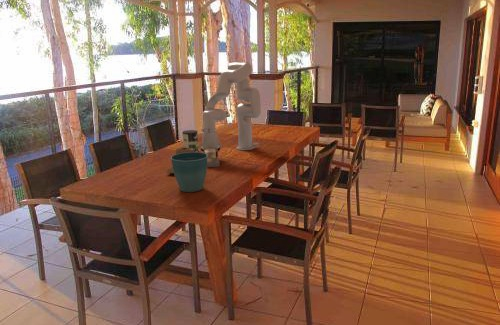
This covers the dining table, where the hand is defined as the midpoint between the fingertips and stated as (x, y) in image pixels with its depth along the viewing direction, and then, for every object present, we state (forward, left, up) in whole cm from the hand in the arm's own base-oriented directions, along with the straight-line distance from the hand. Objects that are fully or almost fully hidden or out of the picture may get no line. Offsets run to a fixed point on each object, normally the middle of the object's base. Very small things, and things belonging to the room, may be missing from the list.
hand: (210, 158), depth 280 cm
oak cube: (+1, +14, +2) cm, 14 cm away
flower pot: (+14, +60, -1) cm, 62 cm away
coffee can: (+12, -26, -1) cm, 29 cm away
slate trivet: (+1, +14, -1) cm, 14 cm away
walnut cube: (0, 0, -1) cm, 1 cm away
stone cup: (+18, +29, -1) cm, 34 cm away
